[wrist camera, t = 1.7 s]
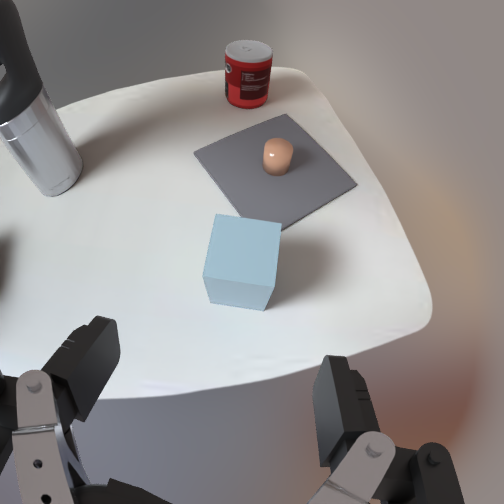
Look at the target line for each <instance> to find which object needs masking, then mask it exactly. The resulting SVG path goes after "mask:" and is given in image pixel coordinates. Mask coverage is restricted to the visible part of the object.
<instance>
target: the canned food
mask: <svg viewBox="0 0 504 504" xmlns="http://www.w3.org/2000/svg"><path fill="white" fill-rule="evenodd" d="M272 57H273V50H272V48H271V47H270V46H268V45H266V44H264V43H262V42H258V41H253V40H240V41H235V42H232V43H230V44H228V45H227V47H226V51H225V95H226V98H227V100H228V101H229V103H231V104H232V105H234V106H236V107H239V108H244V109H252V108H257V107H259V106H261V105H263V104H264V103H265V101H266V99H267V96H268V88H269V81H270V73H271V66H272Z"/></svg>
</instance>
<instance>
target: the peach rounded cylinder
mask: <svg viewBox="0 0 504 504" xmlns="http://www.w3.org/2000/svg"><path fill="white" fill-rule="evenodd" d="M292 154H293V146H292V145H291V143H290V142H288V141H287V140H285V139H282V138H273V139H270V140H268V141H267V142H266V143H265V147H264V155H263V163H262V166H263V169H264V171H265V172H266V173H268V174H269V175H272V176H282V175H284V174H286V173H287V172H288V170H289V166H290V162H291V158H292Z"/></svg>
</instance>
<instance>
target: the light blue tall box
mask: <svg viewBox="0 0 504 504" xmlns="http://www.w3.org/2000/svg"><path fill="white" fill-rule="evenodd" d="M281 226H282V223H275V222H269V221H262V220H256V219H249V218H242V217H235V216H228V215H221V214H216V215H215V220H214V224H213V229H212V233H211V238H210V242H209V247H208V252H207V256H206V261H205V266H204V271H203V276H202V277H203V280H204V283H205V287H206V290H207V293H208V296H209V300H210V303H214V304H220V305H227V306H233V307H240V308H246V309H253V310H260V311H264V309H265V307H266V305H267V303H268V301H269V298H270V296H271V294H272V292H273V290H274V288H275V280H276V271H277V262H278V253H279V244H280V235H281Z"/></svg>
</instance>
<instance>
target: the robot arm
mask: <svg viewBox="0 0 504 504" xmlns="http://www.w3.org/2000/svg"><path fill="white" fill-rule="evenodd" d="M2 64H4V66H5V68H6V74H5V76H4V77H3V79H2V80H1V81H0V139H1V140H2V142H3V143H4V145H5V146H6V147H7V149H8V150H9V152H10V153H11V154H12V156H13V157H14V158H15V160H16V161H17V162H18V164H19V165H20V166H21V168H22V169H23V170H24V172H25V173H26V174H27V175H28V177H29V178H30V179H31V181H32V182H33V183H34V184H35V186H36V187H37V188H38V189H39V190H40V192H41V193H42V194H43V195H46V196H56V195H59V194H61V193H63V192H65V191H66V190H67V189H69V188H70V187H71V186H72V185H73V184H74V183H75V181H76V180H77V179H78V177H79V175H80V173H81V171H82V166H83V162H82V159H81V157H80V155H79V153H78V152H77V150H76V148H75V146H74V144H73V142H72V140H71V138H70V137H69V135H68V133H67V131H66V129H65V127H64V125H63V123H62V121H61V119H60V117H59V116H58V114H57V112H56V110H55V108H54V106H53V103H52V101H51V99H50V97H49V96H48V93H47V91H46V89H45V87H44V85H43V82H42V80H41V78H40V76H39V73H38V71H37V68H36V65H35V63H34V60H33V57H32V55H31V52H30V50H29V47H28V44H27V41H26V38H25V34H24V30H23V27H22V23H21V20H20V16H19V13H18V10H17V8H16V6H15V4H14V3H13V1H12V0H0V65H2ZM119 359H120V344H119V338H118V330H117V324H116V321H115V320H113V319H109V318H105V317H102V316H96V317H95V318H94V319H93V320H92V321H91V322H90V323H89V325H88V326H87V325H83V326H81V327H79V328H77V329H76V330H74V331H73V332H72V333H71V334H70V335H69V337H68V338H67V340H65V341H64V342H63V344H62V345H61V347H59V348H58V349H57V351H56V352H55V353H54V354H53V356H52V357H51V358H50V359H49V360H48V362H47V363H46V364H45V365H44V367H43V368H42V369H41V370H30V371H27V372H25V373H23V374H22V375H21V376H20V377H19V378H17V377H11V376H5V375H2V372H1V370H0V474H1V472H2V470H3V468H4V466H5V464H6V462H7V460H8V458H9V456H10V454H11V453H12V451H14V459H15V466H16V472H17V478H18V483H19V488H20V493H21V497H22V502H23V504H172V503H169V502H167V501H165V500H163V499H161V498H159V497H157V496H155V495H153V494H151V493H149V492H147V491H145V490H144V489H142V488H139V487H135V486H132V485H129V484H126V483H123V482H120V481H117V480H114V479H111V478H110V479H109V482H108V484H107V485H106V484H91V482H90V480H89V478H88V476H87V474H86V472H85V470H84V468H83V465H82V461H81V458H80V455H79V451H78V448H77V444H76V440H75V436H74V432H73V429H72V425H71V423H72V422H73V420H74V418H75V419H77V420H80V421H82V422H85V420H86V419H87V417H88V415H89V413H90V411H91V409H92V408H93V406H94V404H95V402H96V401H97V399H98V397H99V395H100V394H101V392H102V390H103V388H104V387H105V385H106V383H107V381H108V380H109V378H110V376H111V375H112V373H113V371H114V370H115V368H116V366H117V364H118V362H119ZM313 405H314V413H315V422H316V430H317V440H318V448H319V459H320V467H330V469H331V475H330V476H329V477H328V478H327V480H326V481H325V482H324V483H323V485H322V486H321V487H320V488H319V489H318V491H317V492H316V493H315V494H314V495H313V497H312V498H311V499H310V500H309V501H308V502H307V504H370V503H369V501H370V499H371V498H373V499H379V500H380V501H381V504H465V503H464V499H463V496H462V492H461V489H460V485H459V482H458V478H457V475H456V472H455V469H454V465H453V462H452V459H451V456H450V454H449V452H448V450H447V449H446V448H445V447H444V446H442V445H441V444H438V443H433V442H430V443H427V444H424V445H423V446H421V447H420V448H419V450H418V451H417V450H411V449H406V448H400V447H396V446H395V445H394V443H393V441H392V440H391V439H390V438H389V437H388V436H386V435H384V434H383V433H381V432H380V428H379V426H378V422H377V418H376V415H375V412H374V408H373V405H372V402H371V401H370V395H369V392H368V389H367V386H366V383H365V380H364V378H363V377H362V376H361V375H360V374H359V373H358V371H357V370H350V369H349V365H348V362H347V359H346V357H345V356H332V355H326V356H325V357H324V359H323V362H322V364H321V367H320V370H319V373H318V375H317V378H316V380H315V383H314V387H313Z"/></svg>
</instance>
